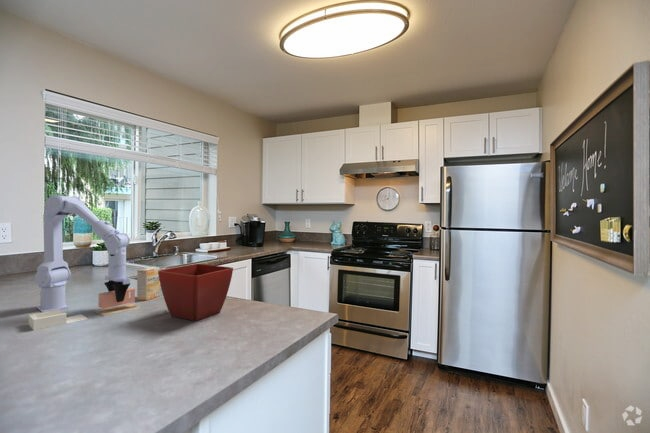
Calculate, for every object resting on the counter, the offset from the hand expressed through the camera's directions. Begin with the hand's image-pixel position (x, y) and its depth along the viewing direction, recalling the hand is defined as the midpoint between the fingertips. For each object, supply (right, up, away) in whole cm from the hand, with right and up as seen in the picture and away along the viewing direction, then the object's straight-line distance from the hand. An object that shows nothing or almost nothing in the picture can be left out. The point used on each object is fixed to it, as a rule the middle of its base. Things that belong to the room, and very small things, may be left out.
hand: (117, 300), depth 122 cm
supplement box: (+3, -4, +17) cm, 18 cm away
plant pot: (+32, -4, -4) cm, 33 cm away
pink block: (0, -1, 0) cm, 1 cm away
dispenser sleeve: (-9, -4, -12) cm, 15 cm away
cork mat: (0, -4, 0) cm, 4 cm away
